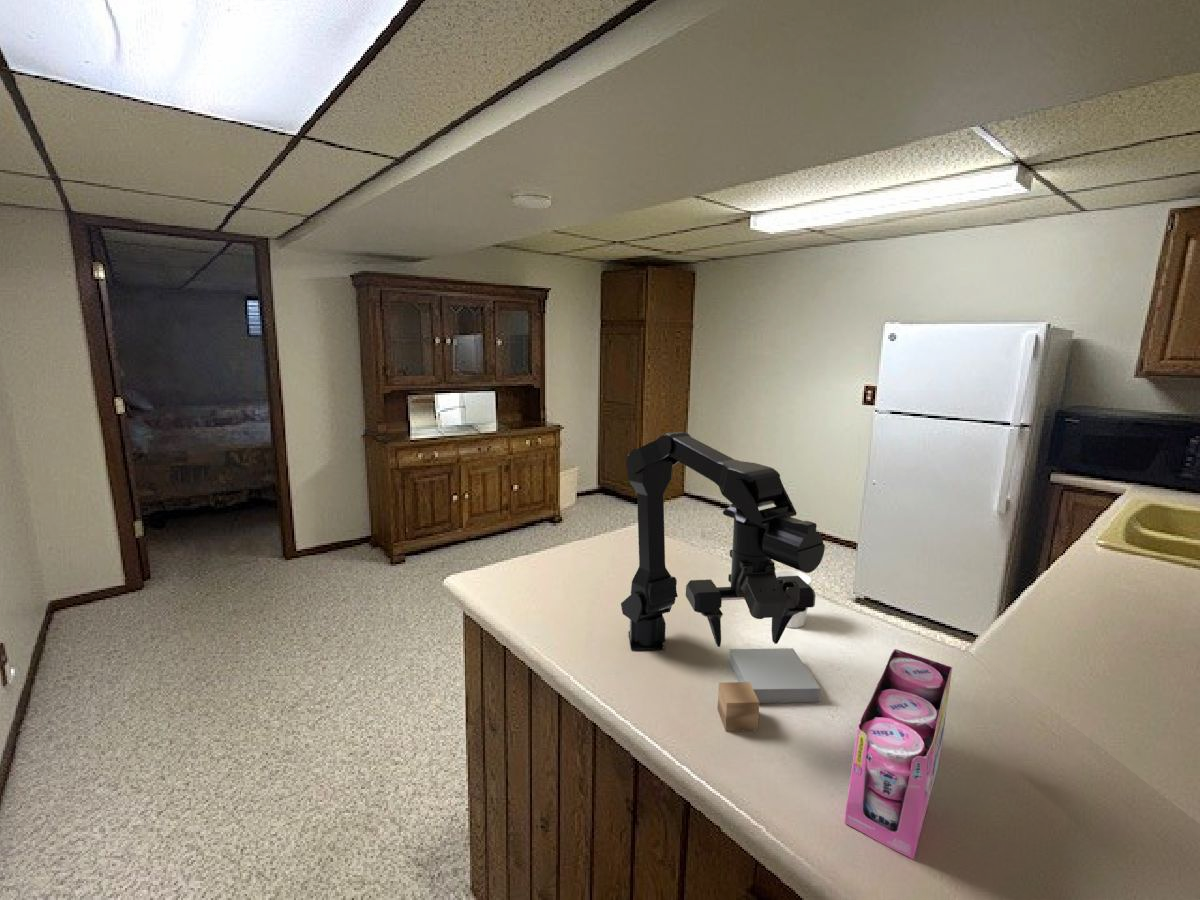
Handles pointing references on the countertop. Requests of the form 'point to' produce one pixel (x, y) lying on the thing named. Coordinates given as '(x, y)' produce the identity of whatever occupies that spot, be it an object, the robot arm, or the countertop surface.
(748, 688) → the walnut cube
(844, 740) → the countertop surface
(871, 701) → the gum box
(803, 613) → the white cup
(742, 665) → the slate tile
